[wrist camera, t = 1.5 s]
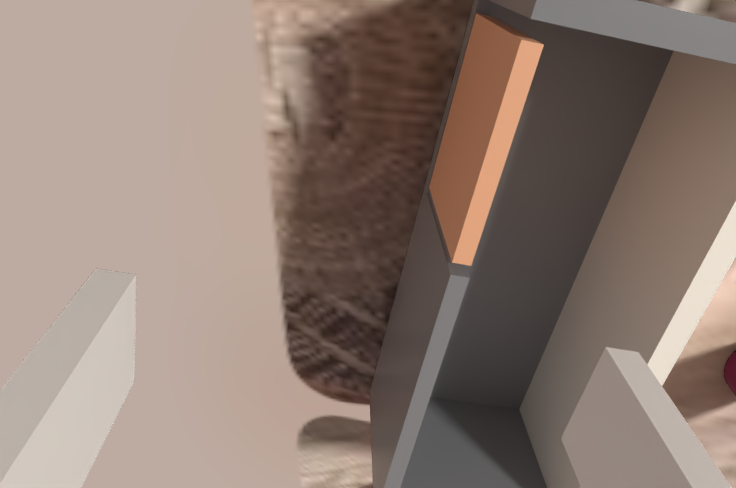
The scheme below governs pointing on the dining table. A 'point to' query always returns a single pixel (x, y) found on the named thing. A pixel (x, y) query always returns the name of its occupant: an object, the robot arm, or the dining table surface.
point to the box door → (480, 130)
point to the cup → (731, 372)
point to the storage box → (564, 246)
